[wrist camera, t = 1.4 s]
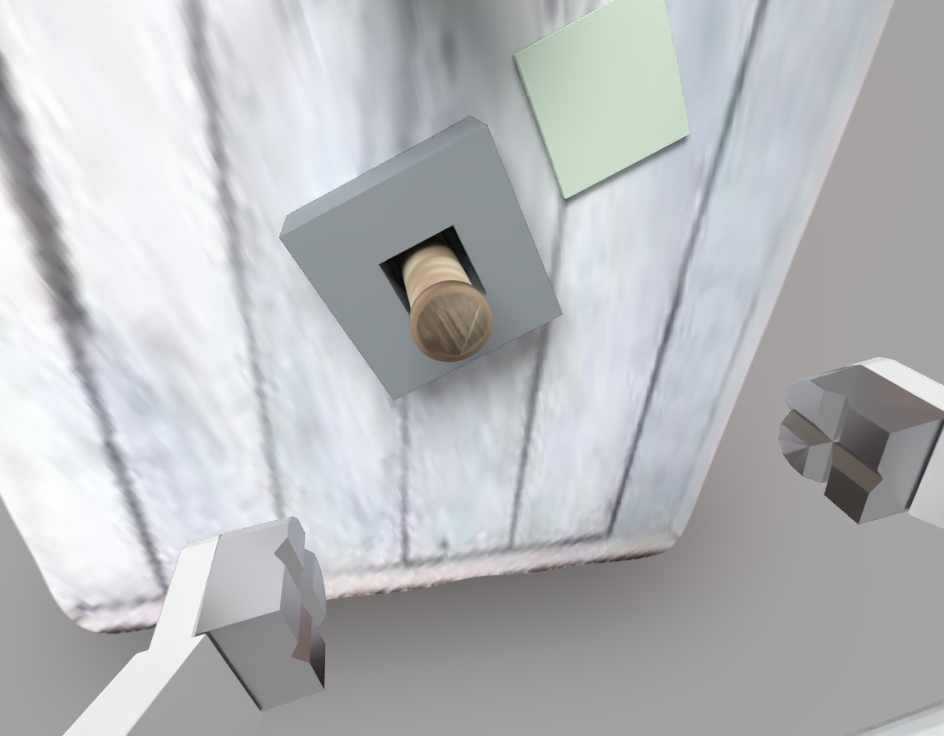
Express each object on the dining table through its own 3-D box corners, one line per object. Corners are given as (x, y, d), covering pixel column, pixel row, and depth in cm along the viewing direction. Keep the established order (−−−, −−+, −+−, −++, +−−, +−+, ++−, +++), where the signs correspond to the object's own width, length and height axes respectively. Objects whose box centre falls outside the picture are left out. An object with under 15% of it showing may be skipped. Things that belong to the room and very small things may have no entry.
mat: (656, -24, 33) (660, -25, 32) (685, 132, 38) (690, 133, 38) (513, 54, 33) (515, 54, 33) (562, 197, 39) (565, 199, 38)
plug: (438, 212, 38) (472, 272, 28) (465, 266, 40) (505, 338, 30) (382, 242, 38) (395, 312, 28) (412, 294, 40) (434, 375, 30)
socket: (470, 116, 35) (487, 125, 31) (541, 288, 42) (562, 314, 38) (286, 215, 36) (279, 237, 31) (389, 366, 43) (393, 400, 39)
